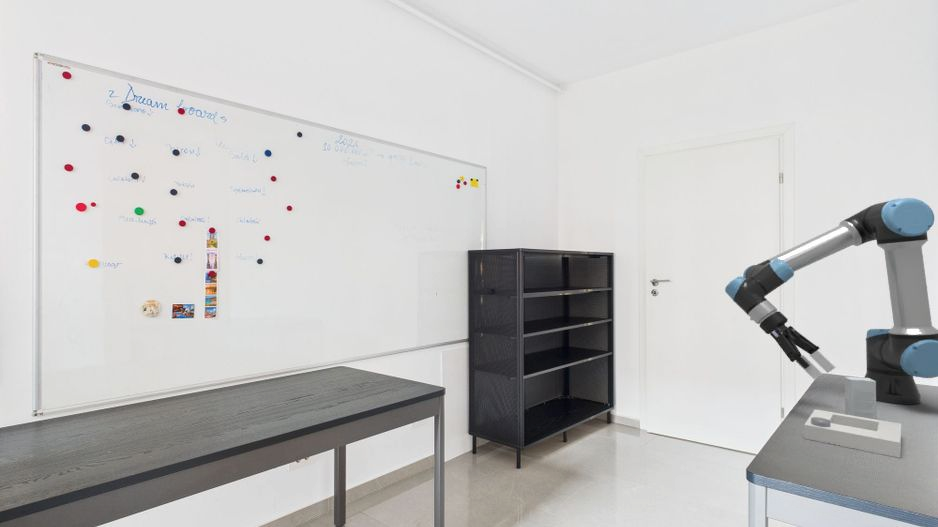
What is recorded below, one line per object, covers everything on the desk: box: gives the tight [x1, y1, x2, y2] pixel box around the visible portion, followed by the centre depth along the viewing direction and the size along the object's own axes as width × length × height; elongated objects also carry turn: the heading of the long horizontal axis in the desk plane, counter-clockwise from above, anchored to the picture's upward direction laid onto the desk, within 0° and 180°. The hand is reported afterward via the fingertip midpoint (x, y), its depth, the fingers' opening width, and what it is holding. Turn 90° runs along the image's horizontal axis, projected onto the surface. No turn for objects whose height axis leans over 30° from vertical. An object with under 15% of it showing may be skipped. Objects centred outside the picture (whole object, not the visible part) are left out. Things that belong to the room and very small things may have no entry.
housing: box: [803, 409, 902, 459], centre depth 121 cm, size 18×18×5 cm
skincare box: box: [843, 376, 877, 420], centre depth 135 cm, size 6×4×12 cm
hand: (825, 373), depth 140 cm, fingers open, 13 cm apart
